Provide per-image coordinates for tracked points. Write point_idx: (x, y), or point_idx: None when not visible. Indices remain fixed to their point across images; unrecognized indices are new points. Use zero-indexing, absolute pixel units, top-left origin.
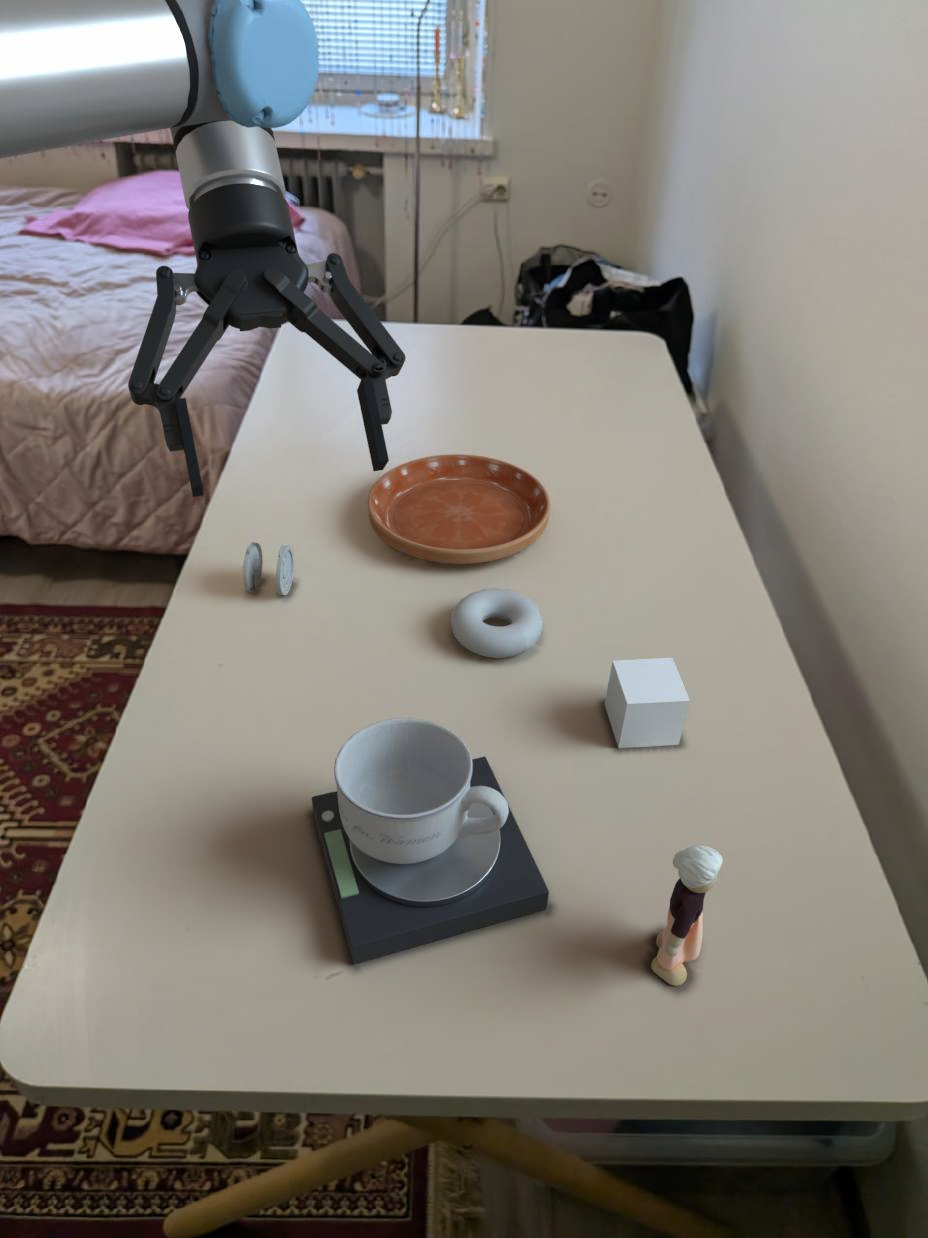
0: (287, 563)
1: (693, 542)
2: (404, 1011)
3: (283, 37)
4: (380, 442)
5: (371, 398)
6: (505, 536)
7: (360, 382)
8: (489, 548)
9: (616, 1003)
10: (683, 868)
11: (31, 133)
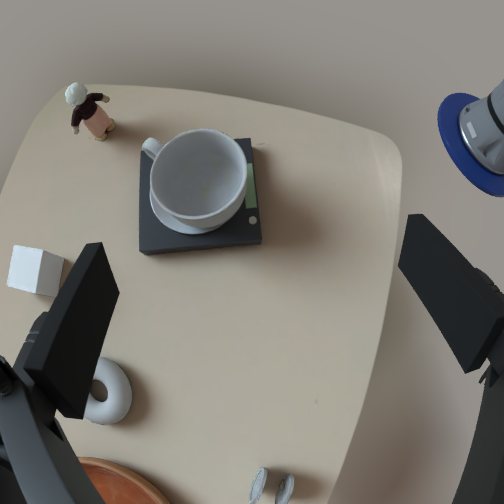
0: (255, 491)
1: None
2: (229, 122)
3: None
4: (82, 262)
5: (49, 326)
6: None
7: (56, 385)
8: (88, 462)
9: (137, 114)
10: (83, 89)
11: None
